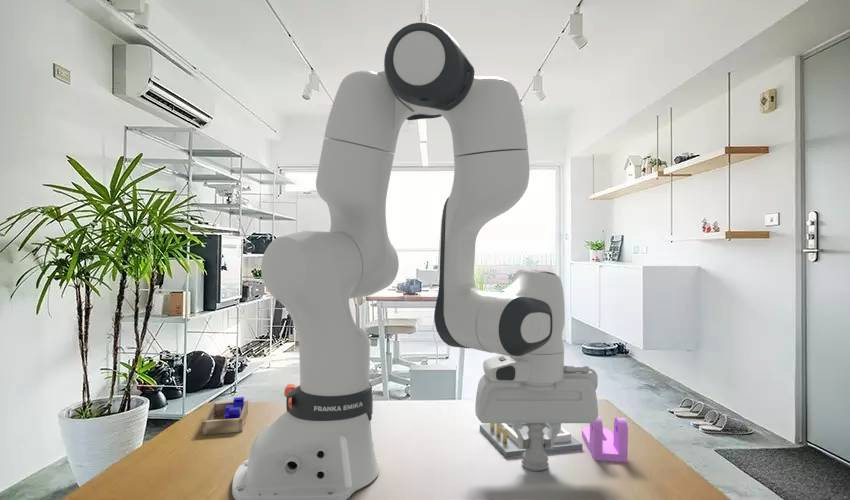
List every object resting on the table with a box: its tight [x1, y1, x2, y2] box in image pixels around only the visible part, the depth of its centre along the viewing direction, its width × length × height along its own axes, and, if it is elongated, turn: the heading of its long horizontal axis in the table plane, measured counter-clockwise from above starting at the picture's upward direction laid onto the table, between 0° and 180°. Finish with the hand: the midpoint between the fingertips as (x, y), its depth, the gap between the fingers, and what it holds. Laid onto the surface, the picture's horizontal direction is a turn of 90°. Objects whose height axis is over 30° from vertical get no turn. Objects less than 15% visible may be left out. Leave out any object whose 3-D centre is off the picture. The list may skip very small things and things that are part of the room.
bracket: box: [581, 416, 629, 463], centre depth 91 cm, size 13×6×7 cm, turn 173°
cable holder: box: [223, 396, 245, 419], centre depth 101 cm, size 8×4×4 cm, turn 14°
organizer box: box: [201, 400, 249, 436], centre depth 100 cm, size 7×11×2 cm, turn 14°
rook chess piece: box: [521, 423, 550, 472], centre depth 82 cm, size 4×4×8 cm
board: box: [479, 423, 583, 459], centre depth 93 cm, size 15×13×4 cm
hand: (535, 447), depth 82 cm, fingers closed on rook chess piece, 3 cm apart
